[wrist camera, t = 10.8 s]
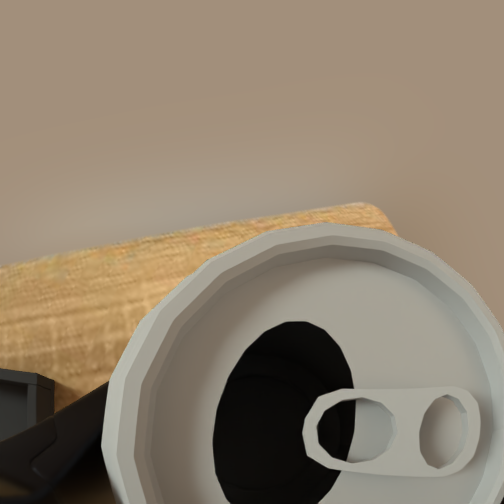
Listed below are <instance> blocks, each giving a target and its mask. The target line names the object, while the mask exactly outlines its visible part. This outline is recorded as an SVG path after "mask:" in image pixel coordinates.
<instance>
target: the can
mask: <svg viewBox="0 0 504 504" xmlns="http://www.w3.org/2000/svg"><path fill="white" fill-rule="evenodd" d="M101 448H102V452H103V457H104V461H105V465H106V469H107V473H108V477H109V481H110V484H111V488H112V491H113V495H114V498H115V502H116V504H500V503H501V501H502V499H503V497H504V333H503V330H502V328H501V326H500V324H499V323H498V321H497V320H496V318H495V317H494V315H493V314H492V312H491V311H490V309H489V308H488V306H487V305H486V304H485V302H484V301H483V299H482V298H481V297H480V295H479V294H478V292H477V291H476V290H475V289H474V287H473V286H472V285H471V284H470V283H469V282H468V281H467V280H466V279H464V278H463V277H462V276H461V275H460V274H458V273H457V272H456V271H455V270H453V269H452V268H451V267H450V266H449V265H448V264H446V263H445V262H444V261H442V260H441V259H440V258H439V257H437V256H436V255H435V254H434V253H432V252H431V251H429V250H427V249H424V248H423V247H420V246H418V245H416V244H414V243H411V242H409V241H407V240H404V239H402V238H400V237H398V236H395V235H393V234H391V233H388V232H386V231H384V230H380V229H373V228H366V227H359V226H351V225H344V224H336V223H328V222H324V223H317V224H311V225H304V226H298V227H292V228H285V229H279V230H272V231H266V232H264V233H262V234H260V235H258V236H256V237H254V238H252V239H250V240H247V241H245V242H243V243H241V244H239V245H237V246H235V247H233V248H231V249H229V250H227V251H225V252H223V253H221V254H219V255H216V256H214V257H212V258H210V259H208V260H206V261H205V262H204V263H203V264H202V265H201V266H200V267H199V268H198V269H197V270H196V271H195V272H194V273H193V274H191V275H189V276H187V277H186V278H185V279H184V280H183V281H181V282H180V283H179V284H178V285H177V286H176V287H175V288H174V289H173V290H172V291H171V292H170V293H169V294H168V295H167V296H166V297H165V298H164V299H163V300H161V301H160V302H159V303H158V304H157V305H156V306H155V307H154V308H153V309H152V310H151V311H150V312H149V313H148V314H147V315H146V316H145V317H144V318H143V319H142V320H141V321H140V322H139V324H138V326H137V328H136V330H135V332H134V333H133V335H132V337H131V339H130V341H129V343H128V345H127V347H126V349H125V350H124V352H123V354H122V356H121V358H120V360H119V362H118V364H117V366H116V368H115V370H114V372H113V374H112V376H111V378H110V380H109V386H108V393H107V400H106V408H105V416H104V424H103V434H102V444H101Z"/></svg>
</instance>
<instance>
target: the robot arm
mask: <svg viewBox="0 0 504 504" xmlns="http://www.w3.org/2000/svg"><path fill="white" fill-rule="evenodd" d="M108 386H109V381H108V382H106V383H105V384H103V385H101V386H100V387H98V388H96V389H95V390H93V391H92V392H90V393H88V394H87V395H85V396H83V397H82V398H80V399H78V400H77V401H75V402H73V403H72V404H70V405H68V406H67V407H65V408H63V409H62V410H60V411H58V412H57V413H55V414H53V416H50V417H48V418H46V419H45V420H43V421H41V422H39V423H38V424H36V425H34V426H32V427H30V428H28V429H26V430H24V431H22V432H20V433H18V434H16V435H14V436H11V437H9V438H7V439H5V440H2V441H0V504H116V502H115V498H114V495H113V491H112V488H111V484H110V481H109V477H108V473H107V469H106V465H105V461H104V457H103V452H102V448H101V444H102V434H103V424H104V416H105V408H106V400H107V393H108ZM500 504H504V497H503V499H502V501H501V503H500Z"/></svg>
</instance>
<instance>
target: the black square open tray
mask: <svg viewBox="0 0 504 504" xmlns="http://www.w3.org/2000/svg"><path fill="white" fill-rule="evenodd" d="M53 414H54V380H52V379H49V378H47V377H44V376H42V375H40V374H37V373H30V372H22V371H15V370H8V369H1V368H0V441H2V440H5V439H7V438H9V437H11V436H14V435H16V434H18V433H20V432H22V431H24V430H26V429H28V428H30V427H32V426H34V425H36V424H38V423H39V422H41V421H43V420H45V419H46V418H48V417H50V416H53Z"/></svg>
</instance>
